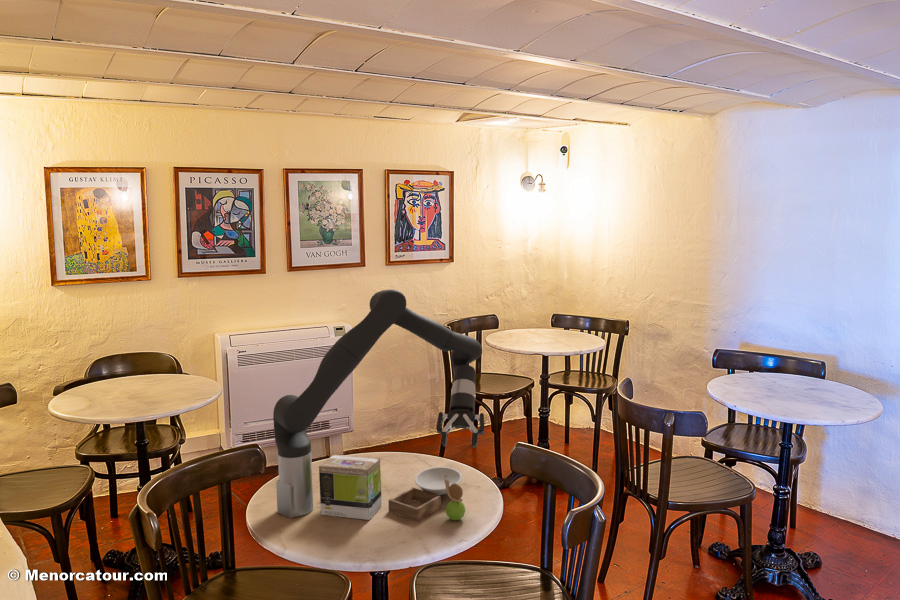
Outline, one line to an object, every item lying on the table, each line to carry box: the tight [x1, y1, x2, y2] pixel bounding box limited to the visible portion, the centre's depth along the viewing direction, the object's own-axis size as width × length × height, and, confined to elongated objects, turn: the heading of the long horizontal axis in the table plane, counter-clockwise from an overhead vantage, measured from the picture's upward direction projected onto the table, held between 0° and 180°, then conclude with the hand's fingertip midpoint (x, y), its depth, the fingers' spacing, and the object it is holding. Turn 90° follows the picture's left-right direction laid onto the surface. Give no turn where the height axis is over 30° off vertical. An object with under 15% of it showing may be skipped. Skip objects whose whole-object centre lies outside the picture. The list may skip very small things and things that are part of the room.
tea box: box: [318, 454, 382, 521], centre depth 181 cm, size 15×10×15 cm, turn 74°
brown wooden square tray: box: [388, 487, 442, 522], centre depth 182 cm, size 11×11×4 cm
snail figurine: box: [444, 474, 466, 521], centre depth 175 cm, size 5×6×12 cm
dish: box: [414, 466, 463, 496], centre depth 192 cm, size 18×14×5 cm
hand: (459, 446), depth 185 cm, fingers open, 8 cm apart
